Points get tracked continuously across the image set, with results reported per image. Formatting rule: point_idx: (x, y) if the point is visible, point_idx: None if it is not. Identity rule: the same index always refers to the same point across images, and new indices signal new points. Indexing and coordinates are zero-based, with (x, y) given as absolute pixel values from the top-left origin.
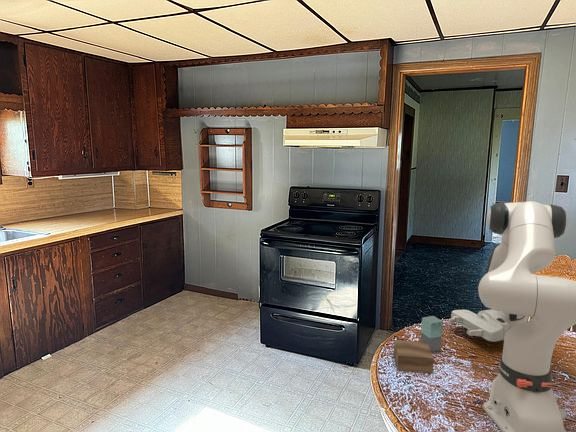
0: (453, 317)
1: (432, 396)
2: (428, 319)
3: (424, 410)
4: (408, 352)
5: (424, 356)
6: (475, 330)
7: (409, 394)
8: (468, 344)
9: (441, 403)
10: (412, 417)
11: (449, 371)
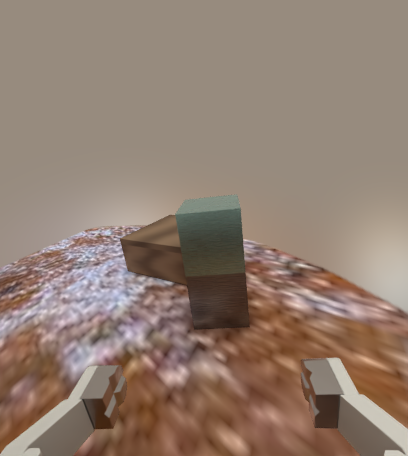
0: (384, 415)
1: (91, 252)
2: (215, 199)
3: (85, 241)
4: (169, 222)
5: (139, 232)
6: (57, 410)
7: (119, 238)
8: None
9: (72, 254)
10: (91, 233)
11: (103, 295)
